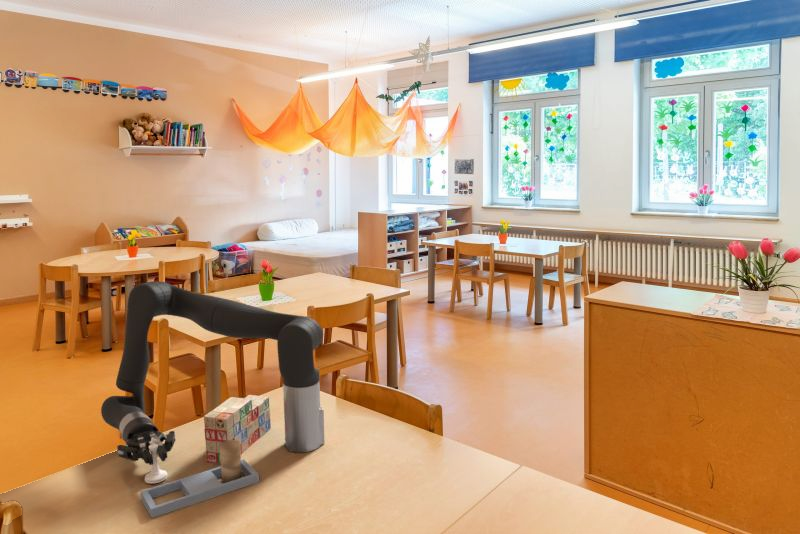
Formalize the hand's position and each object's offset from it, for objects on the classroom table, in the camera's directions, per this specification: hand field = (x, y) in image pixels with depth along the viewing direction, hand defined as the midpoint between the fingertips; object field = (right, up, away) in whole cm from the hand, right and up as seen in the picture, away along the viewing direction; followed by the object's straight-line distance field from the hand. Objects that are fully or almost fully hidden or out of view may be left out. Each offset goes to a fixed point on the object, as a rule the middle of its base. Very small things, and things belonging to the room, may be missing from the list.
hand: (157, 458), depth 136 cm
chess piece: (-2, -6, +3) cm, 7 cm away
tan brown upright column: (+16, -6, +3) cm, 17 cm away
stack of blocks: (+13, -3, +21) cm, 25 cm away
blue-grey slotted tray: (+10, -7, -1) cm, 12 cm away
